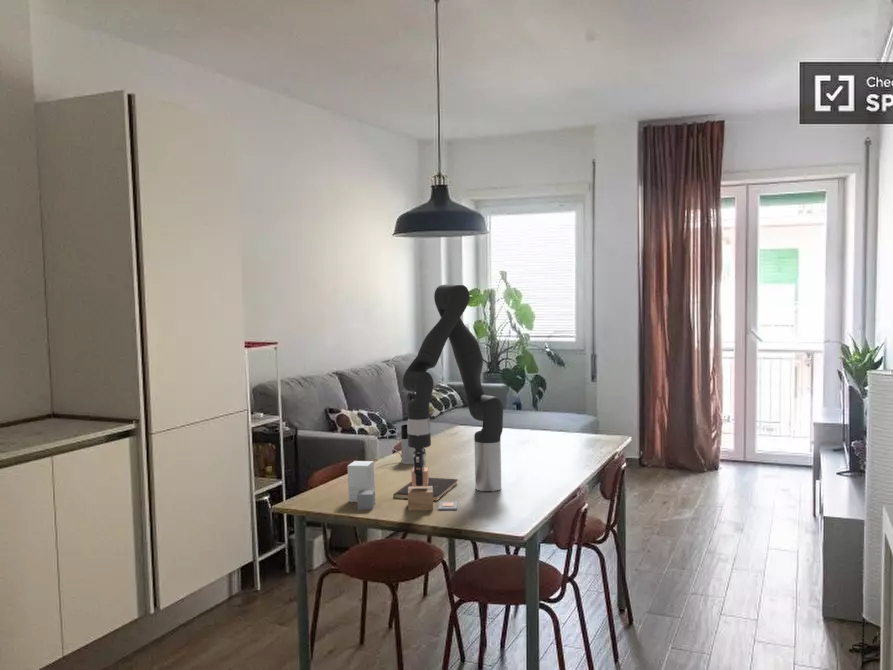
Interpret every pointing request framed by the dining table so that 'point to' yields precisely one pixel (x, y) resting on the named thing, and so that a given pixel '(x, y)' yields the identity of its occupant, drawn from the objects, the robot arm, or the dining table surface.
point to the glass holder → (404, 446)
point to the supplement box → (360, 478)
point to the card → (448, 505)
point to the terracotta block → (425, 478)
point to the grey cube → (366, 499)
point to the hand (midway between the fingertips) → (420, 483)
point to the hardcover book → (438, 485)
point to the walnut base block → (420, 498)
